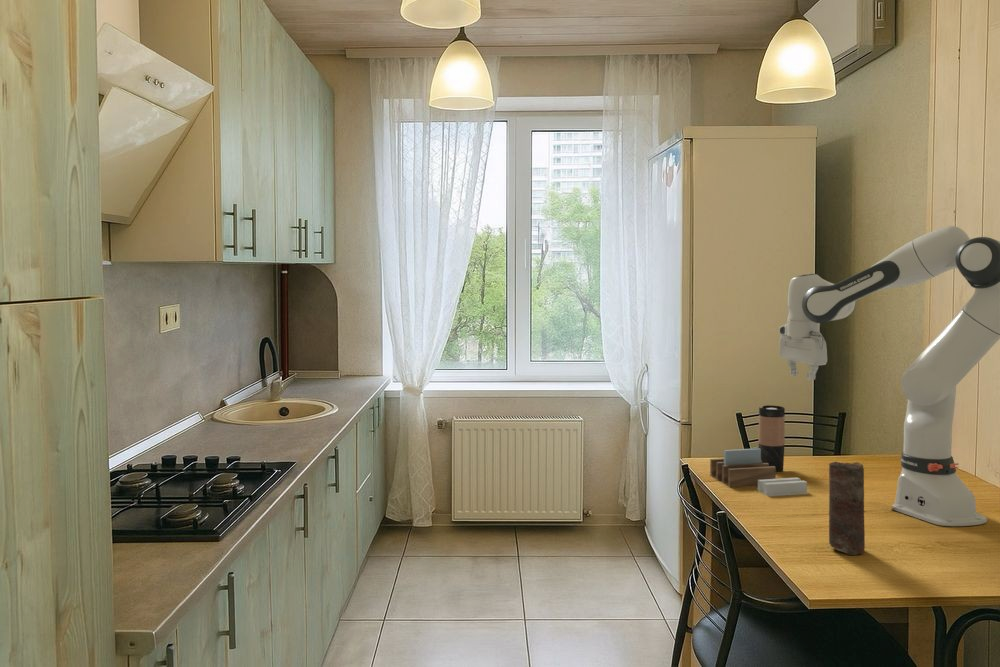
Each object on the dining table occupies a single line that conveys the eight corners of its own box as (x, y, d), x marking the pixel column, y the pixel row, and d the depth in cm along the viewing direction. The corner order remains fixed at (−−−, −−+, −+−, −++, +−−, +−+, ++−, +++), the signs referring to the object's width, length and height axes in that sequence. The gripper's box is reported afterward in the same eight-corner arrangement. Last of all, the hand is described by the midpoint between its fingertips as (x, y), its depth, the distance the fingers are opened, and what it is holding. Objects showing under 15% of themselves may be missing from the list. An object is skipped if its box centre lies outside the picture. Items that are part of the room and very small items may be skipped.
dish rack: (776, 487, 233) (776, 467, 232) (730, 490, 230) (730, 470, 230) (753, 475, 246) (753, 456, 246) (709, 478, 244) (709, 458, 244)
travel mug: (787, 474, 248) (788, 409, 246) (762, 474, 248) (763, 409, 246) (779, 467, 255) (780, 405, 254) (755, 468, 256) (755, 405, 254)
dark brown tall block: (822, 549, 182) (823, 462, 180) (835, 541, 187) (837, 456, 186) (856, 558, 177) (858, 468, 175) (869, 549, 182) (871, 462, 180)
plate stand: (808, 497, 223) (808, 482, 223) (768, 499, 221) (768, 485, 221) (795, 490, 230) (795, 476, 230) (755, 492, 228) (756, 478, 228)
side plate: (760, 479, 239) (760, 449, 238) (725, 481, 237) (725, 451, 236) (758, 478, 240) (758, 448, 239) (723, 480, 238) (723, 450, 237)
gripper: (833, 332, 225) (832, 381, 226) (795, 327, 245) (794, 372, 246) (812, 333, 224) (811, 382, 225) (775, 327, 244) (775, 373, 245)
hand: (802, 377), depth 236 cm, fingers open, 8 cm apart
